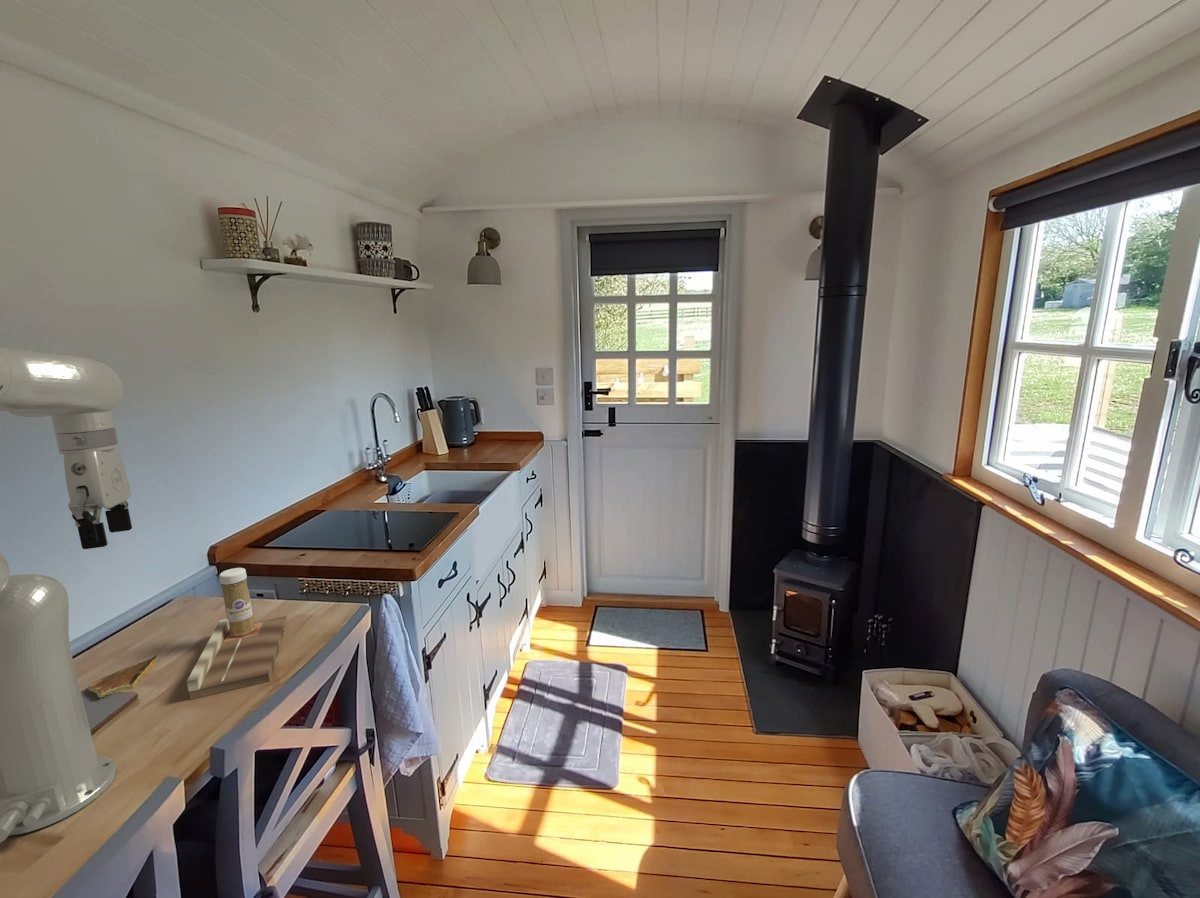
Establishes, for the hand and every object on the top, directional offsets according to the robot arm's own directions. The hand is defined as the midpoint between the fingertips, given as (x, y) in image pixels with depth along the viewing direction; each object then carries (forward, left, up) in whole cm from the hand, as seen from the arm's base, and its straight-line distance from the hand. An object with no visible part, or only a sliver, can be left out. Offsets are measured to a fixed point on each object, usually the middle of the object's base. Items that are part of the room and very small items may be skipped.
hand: (108, 538), depth 97 cm
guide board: (+2, -16, -28) cm, 32 cm away
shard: (+3, +4, -28) cm, 29 cm away
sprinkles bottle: (+9, -15, -26) cm, 32 cm away
